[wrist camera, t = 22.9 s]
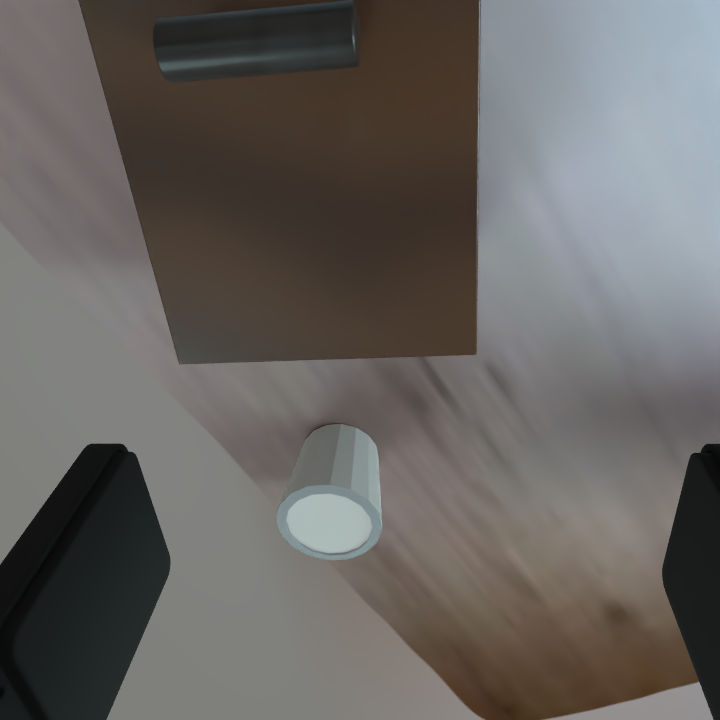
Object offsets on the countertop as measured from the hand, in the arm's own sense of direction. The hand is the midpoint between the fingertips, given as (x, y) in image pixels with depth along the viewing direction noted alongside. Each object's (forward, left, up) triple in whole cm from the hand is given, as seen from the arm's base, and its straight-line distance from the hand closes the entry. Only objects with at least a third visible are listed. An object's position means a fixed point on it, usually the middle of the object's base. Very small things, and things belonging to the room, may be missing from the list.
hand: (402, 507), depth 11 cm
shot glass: (+6, +22, -28) cm, 36 cm away
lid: (+4, -1, -17) cm, 18 cm away
